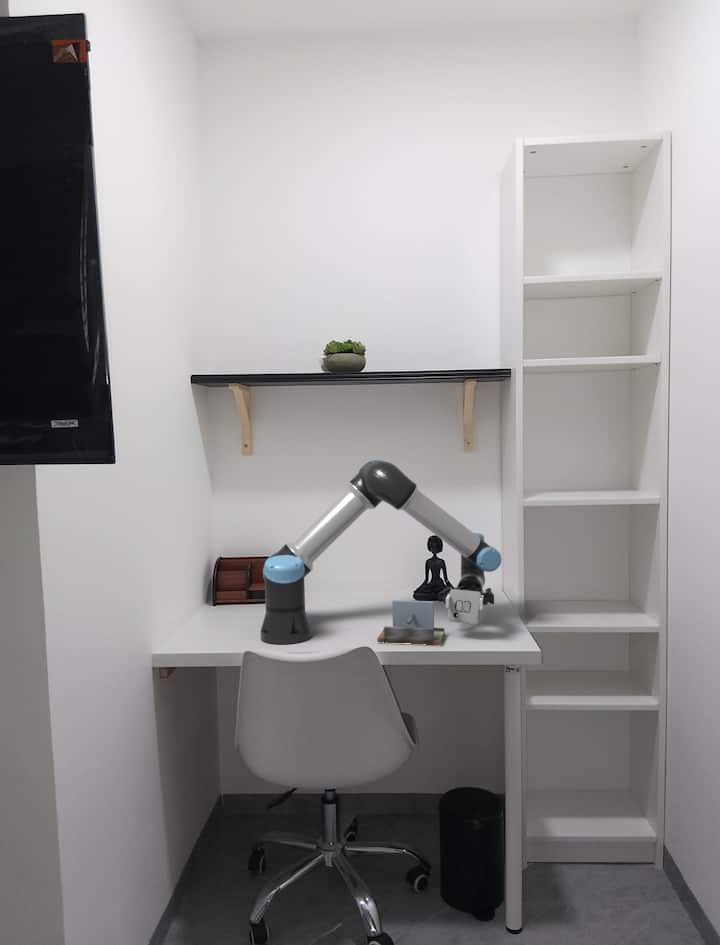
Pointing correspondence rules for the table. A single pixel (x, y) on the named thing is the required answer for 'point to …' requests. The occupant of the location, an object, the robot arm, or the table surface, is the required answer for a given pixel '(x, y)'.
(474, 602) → the electrical switch
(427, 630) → the gauge base
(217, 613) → the table surface
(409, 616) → the upright blue panel
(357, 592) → the table surface
